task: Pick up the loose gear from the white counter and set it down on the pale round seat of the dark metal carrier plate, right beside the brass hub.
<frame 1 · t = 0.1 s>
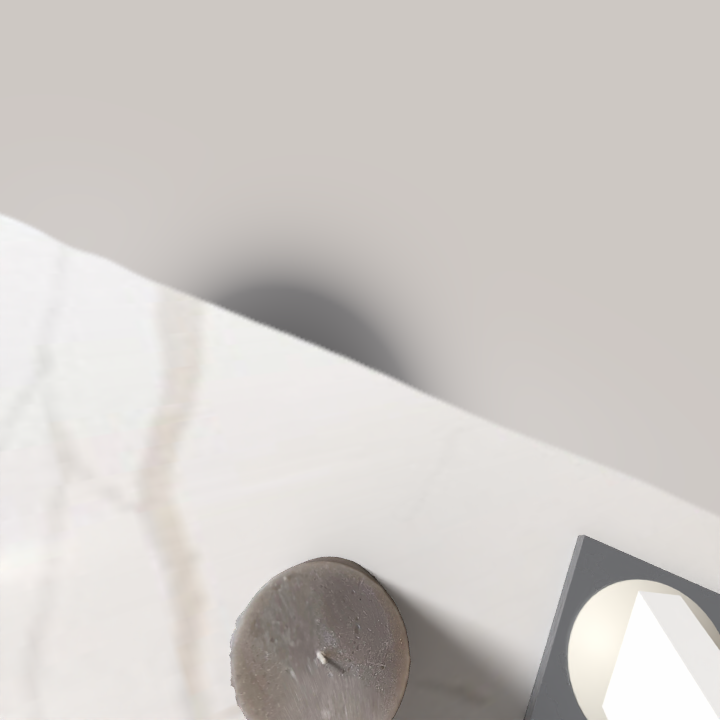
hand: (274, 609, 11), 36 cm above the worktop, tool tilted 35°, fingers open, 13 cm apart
pillar candle: (325, 623, 44), on the worktop
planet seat: (640, 663, 43), resting on carrier plate
carrier plate: (717, 698, 43), on the worktop
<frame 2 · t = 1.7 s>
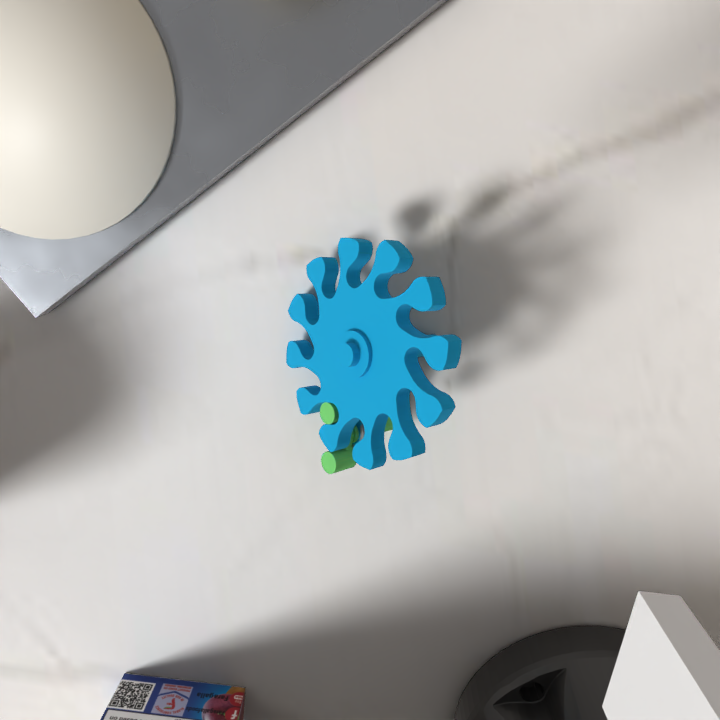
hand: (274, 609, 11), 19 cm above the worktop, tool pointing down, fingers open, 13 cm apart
gear: (362, 340, 29), on the worktop
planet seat: (52, 100, 26), resting on carrier plate
carrier plate: (151, 10, 25), on the worktop
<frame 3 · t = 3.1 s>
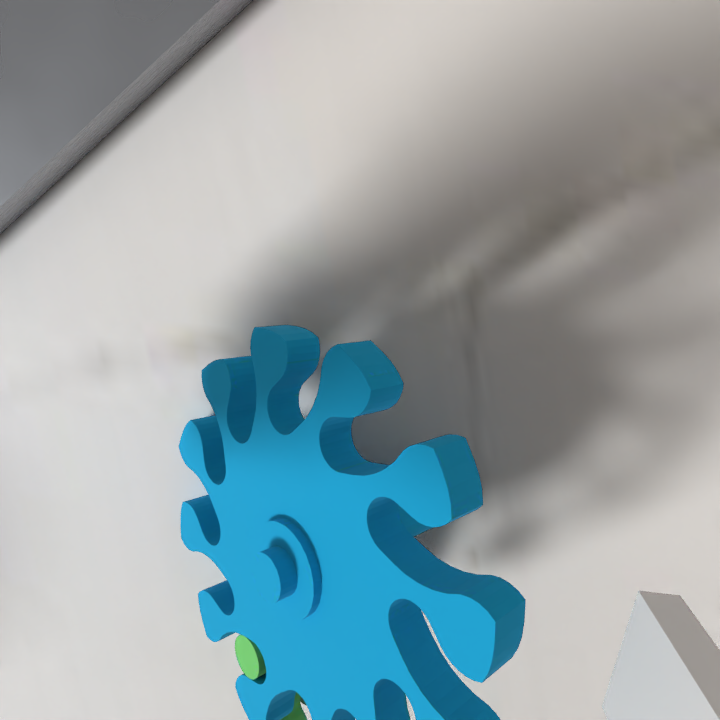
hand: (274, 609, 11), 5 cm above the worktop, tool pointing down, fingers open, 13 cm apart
gear: (321, 488, 16), on the worktop
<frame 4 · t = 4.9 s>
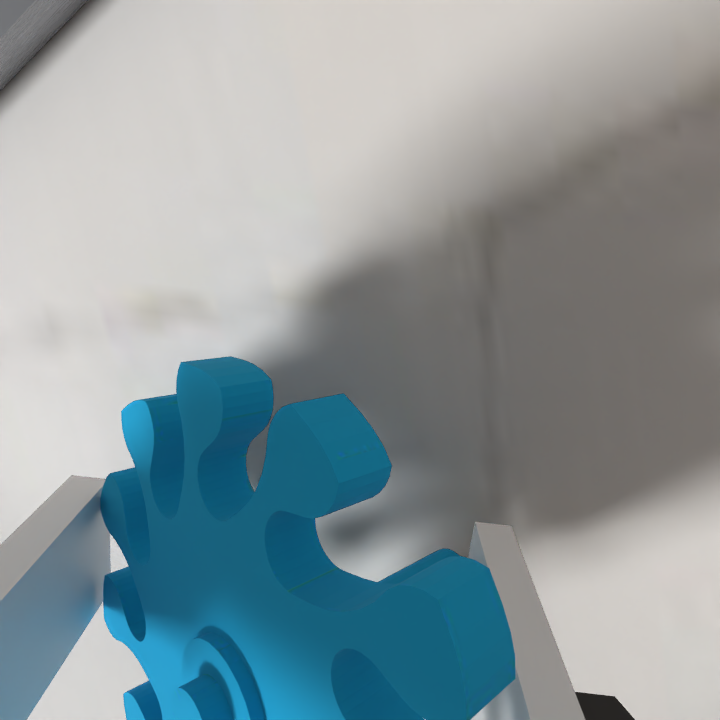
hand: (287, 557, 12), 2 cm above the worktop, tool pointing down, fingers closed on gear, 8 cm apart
gear: (287, 553, 13), point 2 cm above the worktop, touching gripper
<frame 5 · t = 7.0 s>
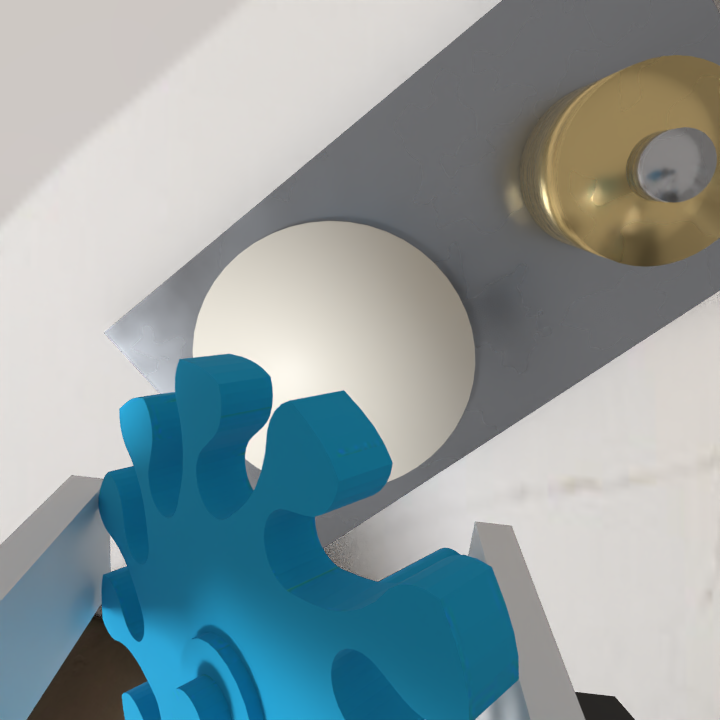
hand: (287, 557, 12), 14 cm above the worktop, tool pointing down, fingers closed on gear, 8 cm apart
gear: (287, 552, 13), point 14 cm above the worktop, touching gripper
pillar candle: (92, 681, 32), on the worktop
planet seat: (335, 355, 26), resting on carrier plate
carrier plate: (445, 274, 25), on the worktop
when the fingers open (3 cm above the worktop, at t = 9.3 s): gear drops 1 cm, resting on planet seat.
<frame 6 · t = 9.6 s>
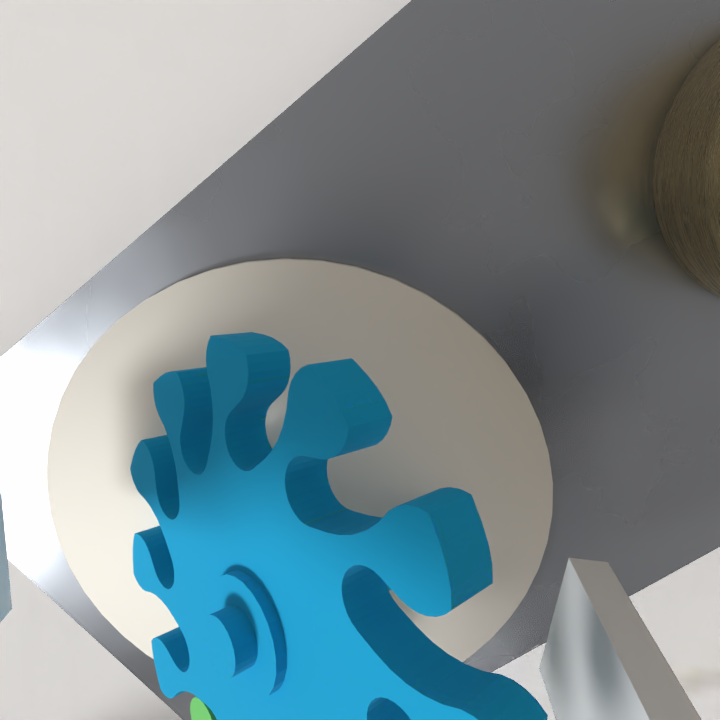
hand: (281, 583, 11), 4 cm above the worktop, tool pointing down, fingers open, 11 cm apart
gear: (298, 516, 14), point 1 cm above the worktop, touching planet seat
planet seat: (305, 481, 15), resting on carrier plate
carrier plate: (496, 348, 14), on the worktop
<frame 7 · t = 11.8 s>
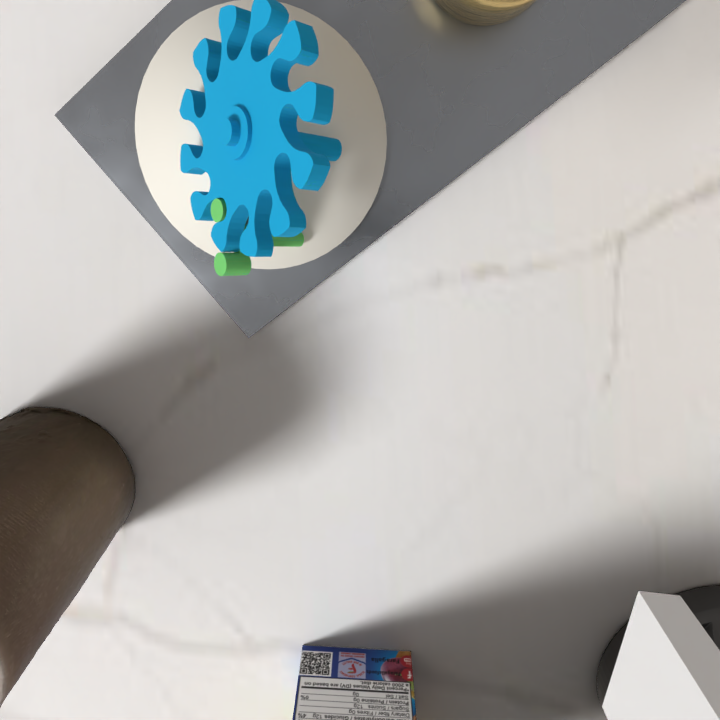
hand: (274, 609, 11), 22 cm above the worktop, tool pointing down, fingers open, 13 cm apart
gear: (262, 149, 28), point 1 cm above the worktop, touching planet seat
pillar candle: (60, 477, 36), on the worktop
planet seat: (266, 144, 29), resting on carrier plate
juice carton: (352, 708, 42), on the worktop
carrier plate: (360, 62, 28), on the worktop
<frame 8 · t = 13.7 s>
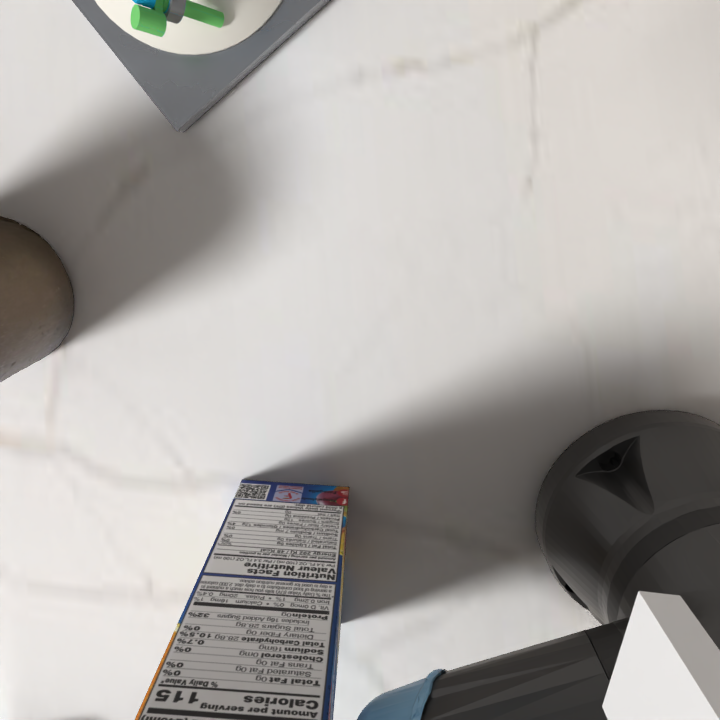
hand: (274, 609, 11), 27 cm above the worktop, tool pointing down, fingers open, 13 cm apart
pillar candle: (2, 293, 37), on the worktop
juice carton: (293, 553, 42), on the worktop
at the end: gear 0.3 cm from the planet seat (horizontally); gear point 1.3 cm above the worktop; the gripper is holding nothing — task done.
